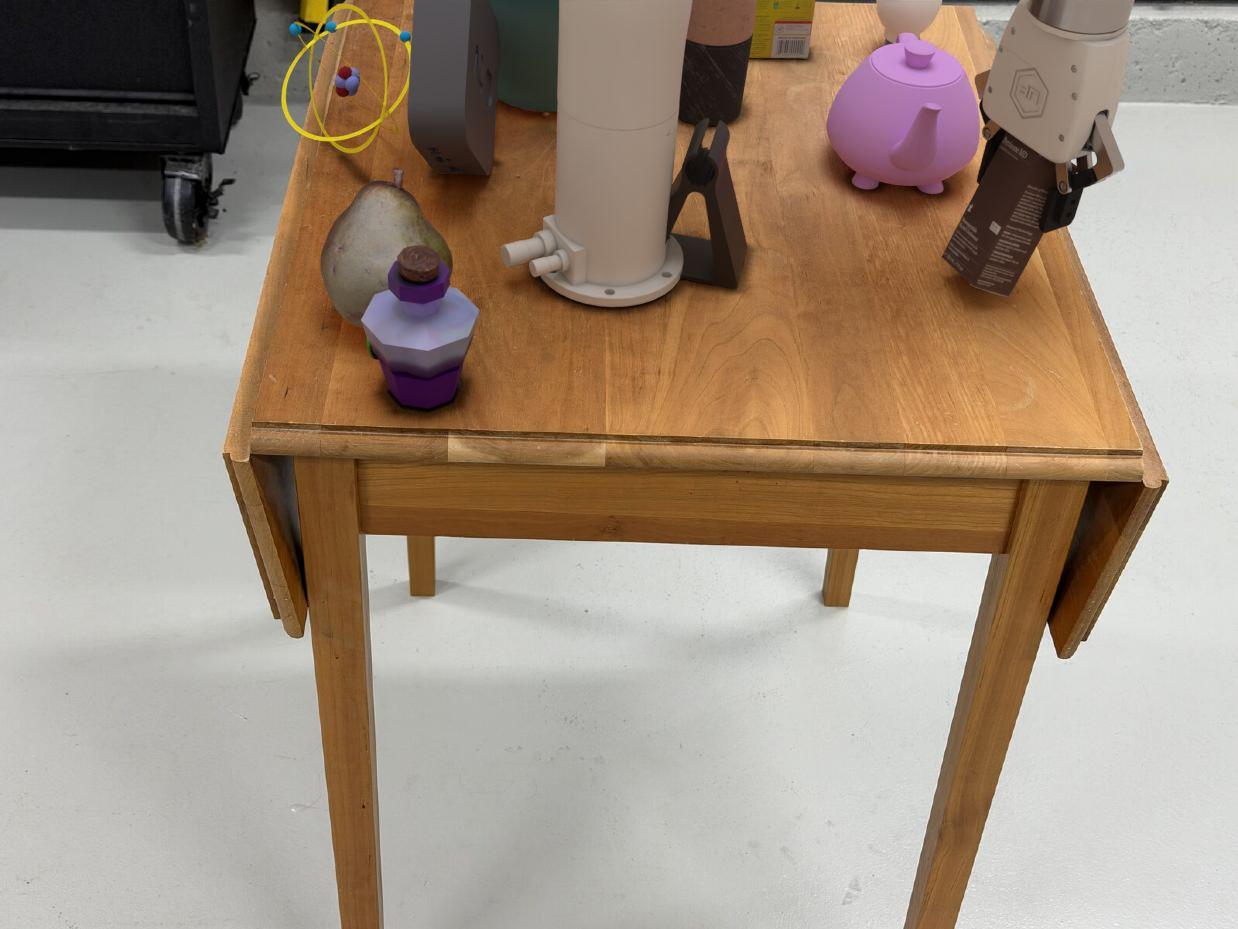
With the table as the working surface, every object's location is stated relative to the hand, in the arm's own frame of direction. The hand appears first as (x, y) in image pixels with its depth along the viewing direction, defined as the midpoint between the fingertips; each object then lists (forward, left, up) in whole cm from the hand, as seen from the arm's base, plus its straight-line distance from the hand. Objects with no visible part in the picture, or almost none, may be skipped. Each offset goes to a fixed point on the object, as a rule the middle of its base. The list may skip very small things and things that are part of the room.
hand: (1023, 202), depth 117 cm
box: (-4, -1, -6) cm, 8 cm away
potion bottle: (-51, +9, -8) cm, 52 cm away
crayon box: (+5, +42, -8) cm, 43 cm away
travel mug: (-8, +35, -8) cm, 37 cm away
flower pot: (-20, +46, -7) cm, 51 cm away
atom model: (-40, +44, +6) cm, 60 cm away
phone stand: (-23, +14, -8) cm, 28 cm away
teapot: (+2, +18, -8) cm, 19 cm away
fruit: (-50, +18, -7) cm, 53 cm away
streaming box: (-37, +37, +1) cm, 53 cm away
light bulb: (+17, +36, -8) cm, 41 cm away
